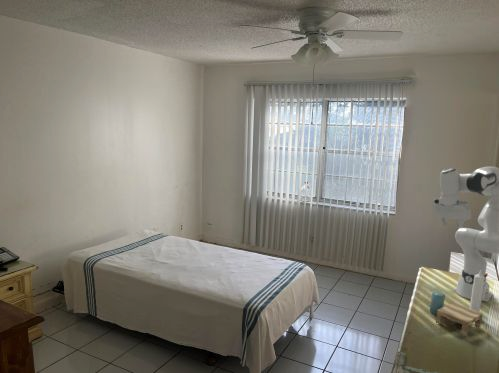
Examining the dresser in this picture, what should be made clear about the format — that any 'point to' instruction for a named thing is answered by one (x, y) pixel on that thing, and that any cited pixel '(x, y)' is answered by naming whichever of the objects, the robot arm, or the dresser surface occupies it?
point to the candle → (477, 292)
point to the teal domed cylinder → (436, 302)
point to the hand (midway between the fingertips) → (452, 226)
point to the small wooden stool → (460, 316)
